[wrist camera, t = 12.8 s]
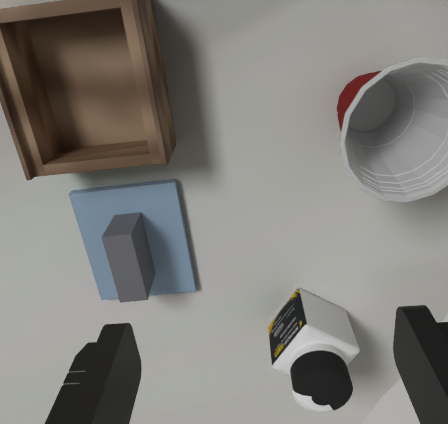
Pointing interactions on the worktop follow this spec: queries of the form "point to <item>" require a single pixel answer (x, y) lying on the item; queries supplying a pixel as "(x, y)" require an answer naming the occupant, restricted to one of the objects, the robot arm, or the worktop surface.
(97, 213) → the cover plate
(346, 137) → the plastic cup
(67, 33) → the wooden box
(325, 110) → the worktop surface
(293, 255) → the worktop surface
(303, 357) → the medicine bottle
